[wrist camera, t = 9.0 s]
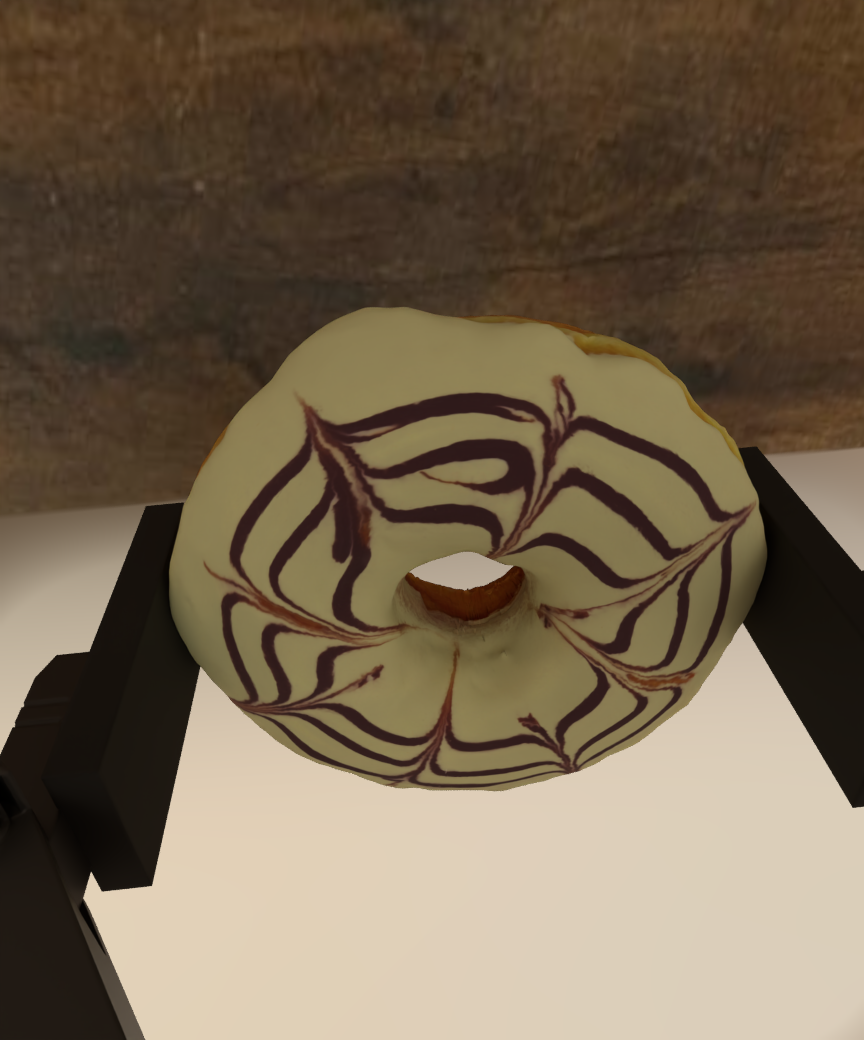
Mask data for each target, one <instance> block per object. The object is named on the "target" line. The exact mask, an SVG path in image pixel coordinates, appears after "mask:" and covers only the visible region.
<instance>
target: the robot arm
mask: <svg viewBox="0 0 864 1040" xmlns="http://www.w3.org/2000/svg"><path fill="white" fill-rule="evenodd" d="M738 450H739V453H740V455H741V458H742V460H743V463H744V466H745V469H746V472H747V474H748V476H749V478H750V480H751V483H752V485H753V487H754V488H755V490H756V492H757V495H758V499H759V512H760V514H761V517H762V521H763V525H764V534H765V540H766V545H767V561H766V567H765V571H764V574H763V578H762V581H761V583H760V586H759V588H758V591H757V594H756V597H755V600H754V603H753V605H752V606H751V608H750V610H749V612H748V614H747V616H746V618H745V620H744V621H743V624H744V626H745V627H746V629H747V630H748V632H749V634H750V636H751V637H752V639H753V641H754V642H755V644H756V646H757V647H758V649H759V651H760V652H761V654H762V656H763V658H764V659H765V661H766V662H767V664H768V666H769V668H770V669H771V671H772V673H773V674H774V676H775V678H776V679H777V681H778V683H779V684H780V686H781V688H782V689H783V691H784V693H785V695H786V696H787V698H788V700H789V701H790V703H791V705H792V706H793V708H794V710H795V711H796V713H797V715H798V716H799V718H800V720H801V721H802V723H803V725H804V726H805V728H806V730H807V731H808V733H809V735H810V736H811V738H812V740H813V742H814V743H815V745H816V746H817V748H818V750H819V752H820V753H821V755H822V757H823V758H824V760H825V762H826V763H827V765H828V767H829V768H830V770H831V771H832V774H833V775H834V777H835V778H836V780H837V782H838V783H839V785H840V787H841V789H842V790H843V792H844V794H845V795H846V797H847V799H848V800H849V802H850V804H851V805H852V807H853V808H856V807H864V571H861V570H860V569H859V567H858V566H857V565H856V564H855V563H854V562H853V560H852V559H851V558H850V557H849V556H848V554H847V553H846V552H845V551H844V550H843V548H842V547H841V546H840V545H839V544H838V543H837V541H836V540H835V539H834V538H833V537H832V535H831V534H830V533H829V532H828V531H827V530H826V528H825V527H824V526H823V525H822V524H821V523H820V521H819V520H818V519H817V518H816V517H815V515H814V514H813V513H812V512H811V511H810V510H809V508H808V507H807V506H806V505H805V504H804V502H803V501H802V500H801V499H800V498H799V496H798V495H797V494H796V493H795V492H794V490H793V489H792V488H791V487H790V486H789V484H788V483H787V482H786V481H785V480H784V479H783V477H782V476H781V475H780V474H779V473H778V471H777V470H776V469H775V468H774V467H773V466H772V464H771V463H770V462H769V461H768V460H767V458H766V457H765V456H764V455H763V454H762V452H761V451H760V450H759V449H758V448H757V447H747V448H738ZM183 506H184V503H175V504H163V505H154V506H146V508H145V510H144V513H143V515H142V518H141V520H140V523H139V526H138V528H137V531H136V533H135V536H134V538H133V541H132V544H131V546H130V549H129V551H128V554H127V556H126V559H125V562H124V564H123V567H122V569H121V572H120V575H119V577H118V580H117V582H116V585H115V587H114V590H113V592H112V595H111V598H110V600H109V603H108V605H107V608H106V611H105V613H104V616H103V618H102V621H101V623H100V626H99V629H98V631H97V634H96V636H95V639H94V641H93V644H92V646H91V649H90V652H83V653H74V654H63V655H56V656H55V658H53V660H52V661H51V662H50V663H49V664H48V665H47V666H46V667H45V668H44V669H43V670H42V671H41V672H40V673H39V674H38V675H37V676H36V677H35V679H34V681H33V684H32V686H31V688H30V690H29V692H28V694H27V697H26V699H25V701H24V707H22V708H21V710H20V712H19V715H18V717H17V719H16V721H15V727H13V728H12V730H11V732H10V734H9V737H8V739H7V741H6V743H5V745H4V748H3V750H2V752H1V754H0V1040H145V1038H144V1036H143V1034H142V1031H141V1029H140V1026H139V1024H138V1022H137V1020H136V1017H135V1015H134V1012H133V1010H132V1008H131V1005H130V1003H129V1001H128V998H127V996H126V994H125V991H124V989H123V987H122V984H121V982H120V980H119V977H118V975H117V973H116V970H115V968H114V966H113V964H112V961H111V959H110V956H109V954H108V952H107V949H106V947H105V945H104V943H103V940H102V938H101V935H100V933H99V931H98V928H97V926H96V924H95V921H94V919H93V917H92V914H91V912H90V910H89V908H88V906H87V904H86V902H85V901H84V899H83V897H84V893H85V890H86V886H87V883H88V880H89V876H90V873H91V872H92V874H93V875H94V878H95V879H96V881H97V883H98V885H99V887H100V889H101V891H111V890H120V889H129V888H138V887H147V886H152V884H153V879H154V874H155V870H156V865H157V861H158V856H159V852H160V847H161V843H162V838H163V834H164V829H165V825H166V820H167V815H168V811H169V806H170V802H171V797H172V793H173V788H174V784H175V779H176V775H177V770H178V765H179V760H180V757H181V752H182V747H183V743H184V738H185V733H186V729H187V725H188V720H189V715H190V711H191V706H192V701H193V698H194V693H195V688H196V684H197V679H198V675H199V670H200V665H199V664H198V663H197V662H196V661H195V660H194V658H193V657H192V655H191V654H190V652H189V650H188V648H187V646H186V644H185V643H184V641H183V639H182V638H181V636H180V634H179V632H178V630H177V627H176V625H175V622H174V620H173V618H172V615H171V609H170V601H169V569H170V561H171V557H172V553H173V549H174V545H175V541H176V537H177V533H178V529H179V524H180V519H181V514H182V510H183Z"/></svg>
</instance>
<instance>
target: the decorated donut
mask: <svg viewBox="0 0 864 1040" xmlns="http://www.w3.org/2000/svg"><path fill="white" fill-rule="evenodd" d="M459 552H475V553H479V554H481V555H483V556H485V557H487V558H490V559H492V560H495V561H497V562H499V563H502V564H505V565H513V567H512V568H511V569H510V570H509V571H508V572H507V573H506V574H505V575H504V576H502V577H501V578H498V579H497V580H495V581H493V582H491V583H489V584H487V585H485V586H480V587H475V588H473V589H470V590H468V589H467V590H465V591H464V590H462V589H453V588H450V587H445V586H441V585H437V584H433V583H430V582H426V581H423V580H421V579H419V578H418V577H415V576H414V575H413V574H412V573H409V572H410V571H411V570H412V569H414V568H416V567H418V566H420V565H422V564H425V563H427V562H429V561H432V560H436V559H439V558H443V557H446V556H449V555H453V554H456V553H459ZM766 561H767V545H766V540H765V534H764V525H763V521H762V517H761V514H760V512H759V499H758V495H757V492H756V490H755V488H754V487H753V485H752V483H751V480H750V478H749V476H748V474H747V472H746V469H745V466H744V463H743V460H742V458H741V455H740V453H739V450H738V447H737V445H736V443H735V441H734V440H733V439H732V438H731V437H730V436H729V435H728V433H727V431H726V429H725V428H724V427H722V426H720V425H719V424H718V423H717V421H715V420H714V419H712V418H711V417H710V416H708V415H707V414H706V413H705V412H704V411H703V410H702V409H701V408H700V407H699V406H698V405H697V404H696V402H695V401H694V400H693V399H692V397H691V395H690V394H689V392H688V391H687V388H686V386H685V385H684V383H683V382H682V381H681V380H680V379H679V378H677V377H676V376H675V375H673V374H672V373H671V372H670V371H669V370H668V369H667V368H666V367H665V366H664V365H663V364H662V362H661V361H660V360H659V359H658V358H656V357H654V356H652V355H651V354H649V353H648V352H646V351H644V350H643V349H639V348H637V347H635V346H632V345H630V344H628V343H626V342H623V341H621V340H619V339H618V338H615V337H609V336H604V335H601V334H595V333H593V332H591V331H587V330H582V329H580V328H578V327H574V326H571V325H568V324H564V323H558V322H551V321H542V320H537V319H531V318H527V317H521V316H516V315H504V316H502V315H500V316H498V315H489V316H466V317H449V316H443V315H436V314H431V313H428V312H424V311H420V310H416V309H412V308H408V307H396V308H378V307H368V308H363V309H360V310H358V311H355V312H353V313H350V314H347V315H345V316H342V317H340V318H338V319H336V320H334V321H332V322H330V323H329V324H327V325H326V326H324V327H323V328H321V329H320V330H318V331H316V332H315V333H314V334H313V335H311V336H310V337H309V338H307V339H306V340H305V341H304V342H303V343H302V344H301V345H300V346H298V347H297V348H296V349H295V350H294V351H293V352H292V353H291V354H289V356H288V357H287V358H286V360H285V361H284V362H283V364H282V365H281V367H280V368H279V370H278V371H277V373H276V374H275V376H274V377H273V379H272V380H271V381H270V382H269V383H268V384H267V385H265V386H264V387H263V388H262V389H261V390H260V391H259V392H258V393H257V394H256V395H255V396H253V397H252V398H251V399H250V400H249V401H248V402H247V403H246V404H245V405H244V406H243V407H242V408H241V409H240V411H239V412H238V413H237V414H236V416H235V417H234V418H233V419H232V421H231V422H230V423H229V424H228V426H227V427H226V428H225V429H224V431H223V432H222V434H221V435H220V436H219V438H218V439H217V440H216V442H215V444H214V446H213V448H212V450H211V451H210V453H209V454H208V456H207V457H206V459H205V460H204V462H203V463H202V465H201V468H200V470H199V472H198V474H197V477H196V480H195V482H194V485H193V488H192V490H191V492H190V493H189V497H188V499H187V500H186V502H185V504H184V506H183V510H182V514H181V519H180V524H179V529H178V533H177V537H176V541H175V545H174V549H173V553H172V557H171V561H170V569H169V601H170V609H171V615H172V618H173V620H174V622H175V625H176V627H177V630H178V632H179V634H180V636H181V638H182V639H183V641H184V643H185V644H186V646H187V648H188V650H189V652H190V654H191V655H192V657H193V658H194V660H195V661H196V662H197V663H198V664H199V665H200V666H201V667H202V668H203V670H204V671H205V672H206V673H207V675H208V676H209V677H210V678H211V680H212V681H213V682H214V683H215V684H216V685H217V686H218V687H219V688H220V689H221V690H222V691H223V692H224V693H225V694H226V695H227V696H228V697H229V698H230V700H231V701H232V702H233V703H234V704H235V705H236V706H237V707H238V708H240V709H241V711H242V712H244V714H245V715H247V716H248V717H249V718H251V719H252V720H253V721H254V722H255V723H256V724H257V725H258V726H259V727H260V728H262V729H263V730H264V731H266V732H267V733H268V734H269V735H271V736H272V737H273V738H274V739H275V740H277V741H278V742H279V743H281V744H282V745H284V746H286V747H287V748H289V749H290V750H292V751H293V752H295V753H296V754H298V755H300V756H302V757H305V758H307V759H310V760H312V761H314V762H316V763H319V764H322V765H326V766H329V767H332V768H335V769H338V770H341V771H345V772H349V773H352V774H355V775H357V776H359V777H362V778H364V779H367V780H370V781H373V782H376V783H379V784H382V785H385V786H390V787H395V788H422V789H427V790H487V791H504V790H508V789H511V788H515V787H519V786H524V785H527V784H531V783H537V782H541V781H546V780H548V779H551V778H553V777H557V776H561V775H565V774H569V773H573V772H577V771H580V770H582V769H584V768H587V767H589V766H591V765H594V764H596V763H598V762H600V761H601V760H603V759H604V758H606V757H607V756H609V755H612V754H614V753H617V752H619V751H621V750H624V749H626V748H628V747H630V746H633V745H634V744H636V743H638V742H639V741H641V740H642V739H643V738H645V737H646V736H647V735H649V734H650V733H651V732H653V731H654V730H655V729H656V728H657V727H658V726H660V725H661V724H662V723H663V722H665V721H666V720H668V719H669V718H670V717H672V716H673V715H674V714H675V713H677V712H678V711H679V710H681V709H682V708H684V707H685V706H687V705H688V703H689V702H690V701H691V700H692V698H693V697H694V696H695V695H696V693H697V692H698V691H699V689H700V688H701V686H702V684H703V683H704V681H705V680H706V678H707V677H708V676H709V674H710V673H711V672H712V670H713V669H714V667H715V666H716V664H717V663H718V661H719V659H720V657H721V656H722V654H723V652H724V650H725V649H726V647H727V646H728V645H729V644H730V643H731V641H732V639H733V636H734V634H735V633H736V631H737V630H738V628H739V627H740V625H741V624H742V623H743V621H744V620H745V618H746V616H747V614H748V612H749V610H750V608H751V606H752V605H753V603H754V600H755V597H756V594H757V591H758V588H759V586H760V583H761V581H762V578H763V574H764V571H765V567H766Z"/></svg>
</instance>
